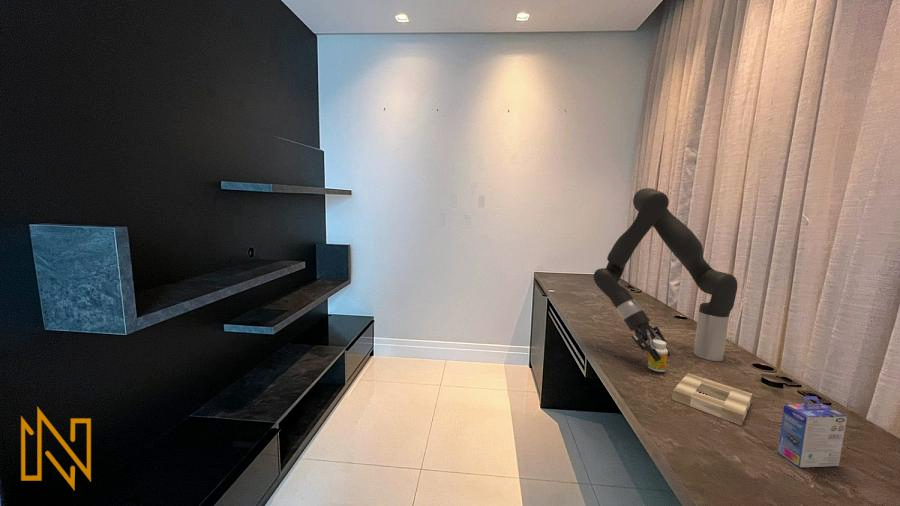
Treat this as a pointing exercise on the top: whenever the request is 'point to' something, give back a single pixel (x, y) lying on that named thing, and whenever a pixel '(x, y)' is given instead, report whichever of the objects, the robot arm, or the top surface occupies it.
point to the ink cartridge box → (812, 434)
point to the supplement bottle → (662, 351)
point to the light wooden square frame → (728, 409)
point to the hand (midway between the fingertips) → (663, 358)
